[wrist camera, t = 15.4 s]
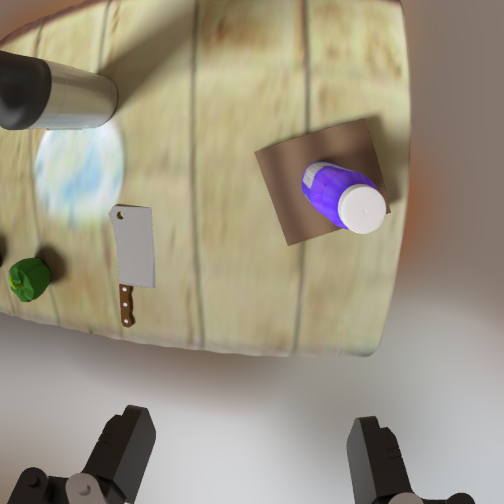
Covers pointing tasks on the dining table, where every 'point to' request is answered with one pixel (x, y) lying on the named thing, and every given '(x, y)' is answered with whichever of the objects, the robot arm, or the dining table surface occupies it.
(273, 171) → the walnut stand
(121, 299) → the kitchen cleaver
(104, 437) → the robot arm
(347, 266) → the dining table surface
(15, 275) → the bell pepper
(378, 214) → the bottle
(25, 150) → the dining table surface
